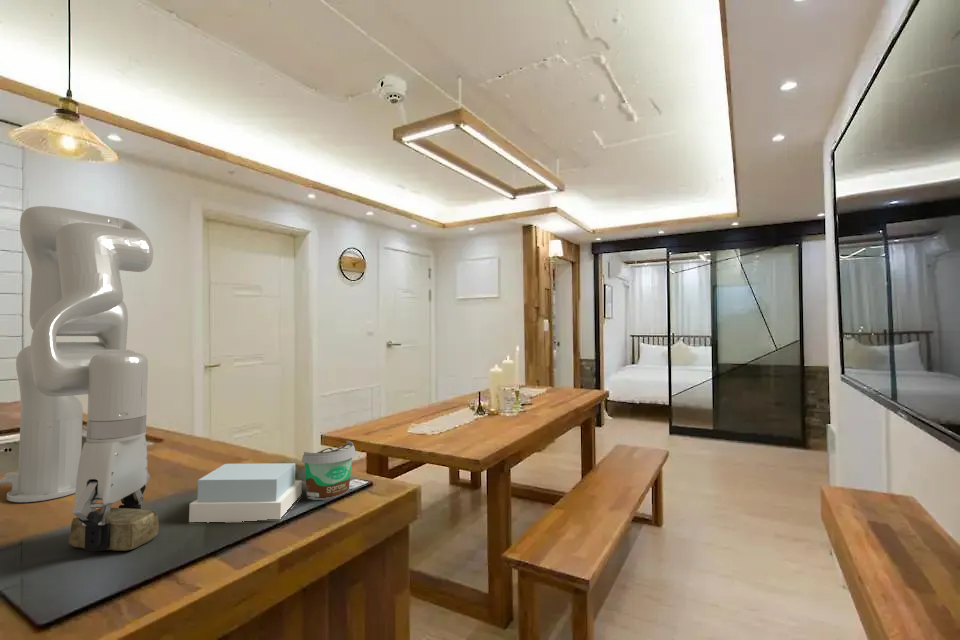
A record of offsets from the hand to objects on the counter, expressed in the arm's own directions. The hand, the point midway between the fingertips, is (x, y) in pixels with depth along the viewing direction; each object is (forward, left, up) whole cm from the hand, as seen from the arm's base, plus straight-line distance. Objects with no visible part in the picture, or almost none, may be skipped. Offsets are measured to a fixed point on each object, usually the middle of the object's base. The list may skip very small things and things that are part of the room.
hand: (113, 537), depth 72 cm
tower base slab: (+16, +13, -2) cm, 21 cm away
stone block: (0, 0, -1) cm, 1 cm away
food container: (+31, +19, -1) cm, 36 cm away
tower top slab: (+16, +13, +2) cm, 21 cm away
